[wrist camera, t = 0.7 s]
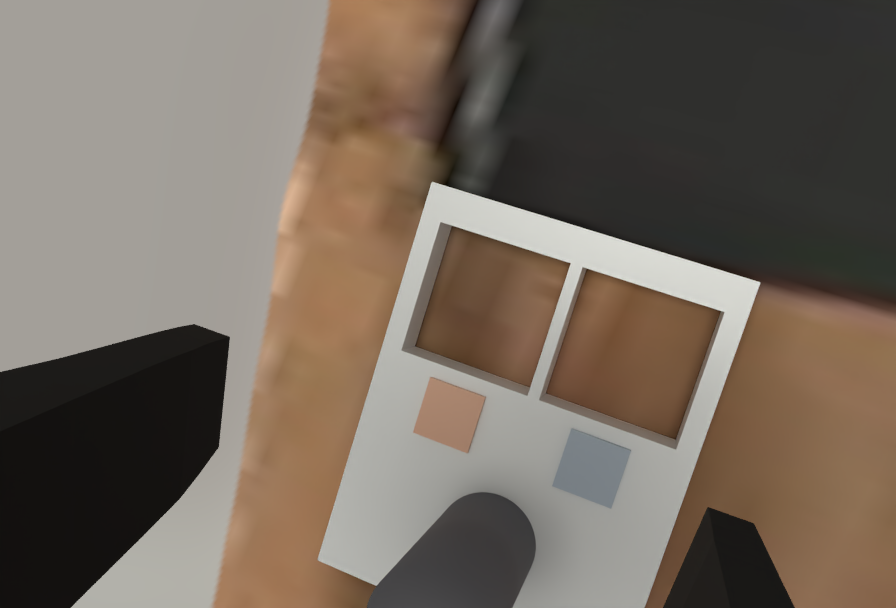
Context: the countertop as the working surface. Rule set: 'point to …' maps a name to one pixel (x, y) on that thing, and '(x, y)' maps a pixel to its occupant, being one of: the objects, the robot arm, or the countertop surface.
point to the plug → (464, 559)
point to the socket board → (527, 425)
